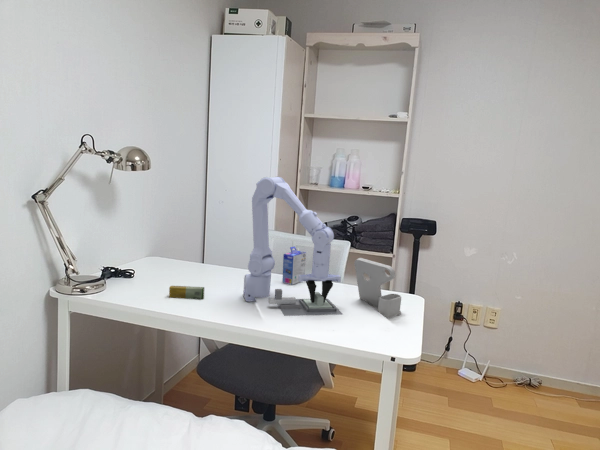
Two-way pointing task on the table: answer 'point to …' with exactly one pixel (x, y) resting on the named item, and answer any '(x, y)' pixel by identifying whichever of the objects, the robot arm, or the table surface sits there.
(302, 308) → the panel
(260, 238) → the robot arm
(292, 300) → the brushed metal bar
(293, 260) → the ink cartridge box
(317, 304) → the cover
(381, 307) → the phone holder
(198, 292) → the medication box
